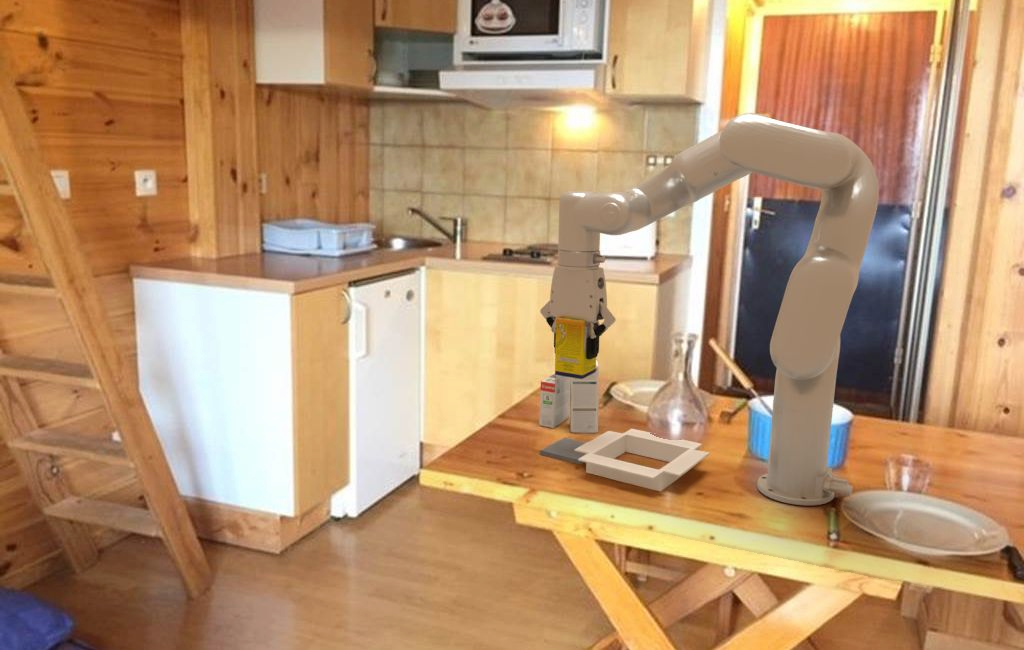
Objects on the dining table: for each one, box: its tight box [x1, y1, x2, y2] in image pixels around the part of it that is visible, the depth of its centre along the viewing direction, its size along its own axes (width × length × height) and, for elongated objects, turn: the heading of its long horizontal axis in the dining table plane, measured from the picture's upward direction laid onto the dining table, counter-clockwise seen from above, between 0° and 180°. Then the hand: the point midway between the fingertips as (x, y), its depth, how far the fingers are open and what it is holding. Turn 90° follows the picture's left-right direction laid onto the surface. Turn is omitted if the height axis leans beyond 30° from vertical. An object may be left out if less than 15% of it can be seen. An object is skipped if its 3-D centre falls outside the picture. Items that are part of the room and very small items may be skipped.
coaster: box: [539, 437, 587, 465], centre depth 164 cm, size 9×9×1 cm
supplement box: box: [554, 317, 597, 379], centre depth 159 cm, size 6×6×11 cm
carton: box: [574, 428, 710, 492], centre depth 155 cm, size 21×21×4 cm
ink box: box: [538, 373, 570, 429], centre depth 180 cm, size 4×8×15 cm, turn 152°
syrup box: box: [569, 358, 600, 434], centre depth 176 cm, size 6×6×14 cm
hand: (575, 354), depth 160 cm, fingers closed on supplement box, 6 cm apart
